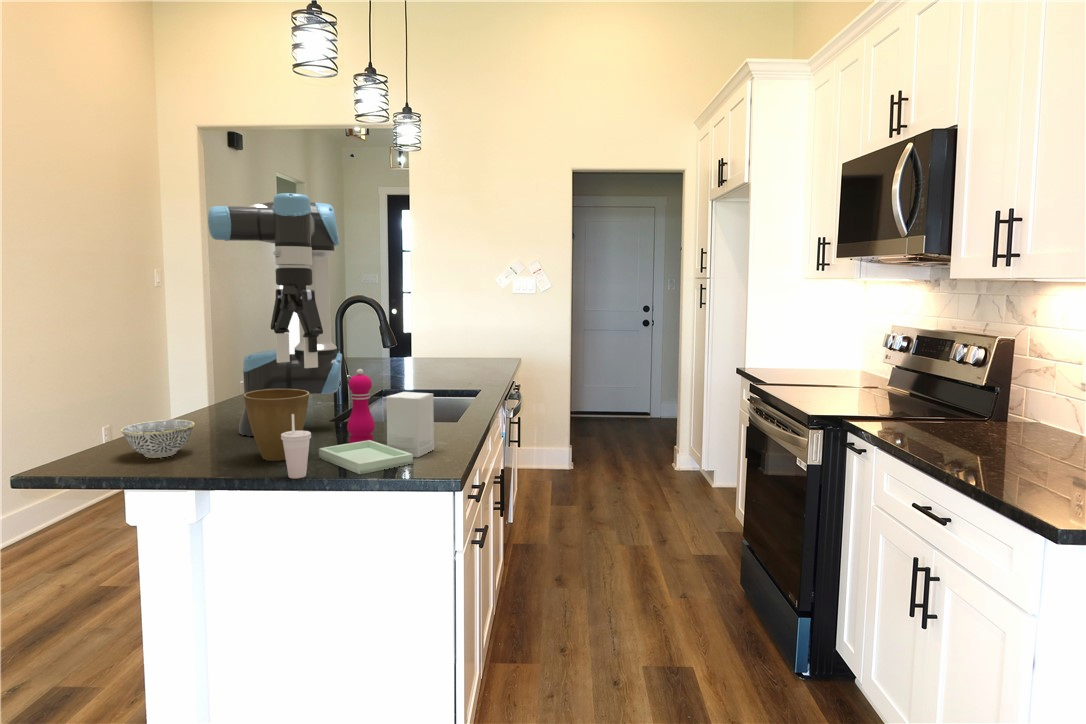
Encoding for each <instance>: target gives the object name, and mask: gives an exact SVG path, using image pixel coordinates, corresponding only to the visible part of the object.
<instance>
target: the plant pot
mask: <svg viewBox="0 0 1086 724" xmlns="http://www.w3.org/2000/svg"><path fill="white" fill-rule="evenodd" d="M309 396H310V394H309V392H308V391H305V390H297V389H266V390H257V391H252V392H248V393H246V394H243V399H244V406H245V405H246V410H247V414H248V419H249V422H250V426H251V429H252V433H253V436H254V437H253V439H254V441H255V444H256V447H257V448H258V451H259V453H260V455H261V457H262V459H263V460H264V459H265V460H264V461H269V462H273V461H274V462H277V461H286V458H285V452H284V446H283V440H282V439H281V434H282V433H284V432H289V431H292V414H294V424H295V431H304V427H305V424H306V423H305V422H306V418H307V413H308V412H307V411H308V403H309V399H310V397H309Z"/></svg>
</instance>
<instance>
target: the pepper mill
mask: <svg viewBox="0 0 1086 724" xmlns="http://www.w3.org/2000/svg"><path fill="white" fill-rule="evenodd" d="M372 385H373V384H372V380H371V378H370V377H369V376H368V375H366V374H364V370H363V369H362V368H358V369H357V370H356V374H355V375H353V376H352V377H350V379H349V381H348V388H349V391H351V393H350V399H351V400H352V408H351V413H350V416H349V418H348V420H347V425H346V430H347V432H348V433H349V434H350V436H349V438H348V440H349V441H348V442H349V443H355V442H361V441H367V440H371V441H374V435H373V432H374V431H375V429H376V424H375V423H376V422H375V420H374V417H373V415H372V413H371V410H370V407H369V399H371V395H370V394H371V393H370V390H371V389H372ZM349 443H348V444H349Z"/></svg>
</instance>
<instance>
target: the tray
mask: <svg viewBox="0 0 1086 724" xmlns="http://www.w3.org/2000/svg"><path fill="white" fill-rule="evenodd" d="M318 458H319V459H320V458H321V460H323V461H325V462H328V463H331V464H334V465H336V466H337V467H338V466H339V467H341V468H343V469H345V470H348V471H350V472H353V473H355V474H358V475H365V474H369V473H373V472H379V471H385V470H389V468H390V469H394V467H395V468H399V466H400V467H405V466H409V465H408V464H410V465H414V457H413V454H411V453H408V452H405V451H402V450H399V449H396V448H393V447H389V446H387V444H383V443H380V442H377V441H374V440H373V441H371V440H367V441H361V442H355V443H343V444H337V445H331V446H324V447H320V448H318ZM404 465H405V466H404ZM384 469H385V470H384Z"/></svg>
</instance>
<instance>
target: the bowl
mask: <svg viewBox="0 0 1086 724" xmlns="http://www.w3.org/2000/svg"><path fill="white" fill-rule="evenodd" d="M195 425H196V424H195V421H192V420H187V419H160V420H159V419H158V420H151V421H144V422H138V423H133V424H130V425H126V426H123V428H121V429H120V432H121V433H122V435H123V436H124V438H125V439H126V442H127V443H128V444H129V447H131V448H132V450H134V451H135V452H137V453H139V454H142V455H143V457H144V456H145V457H153V458H155V457H166V456H171V455H174V454H176V455H177V452H178V451H179V450H181V449H182V448H184V446H186V444H187V443H188V441H189V439H190V436H191V433H192V430H193V428H194V426H195ZM174 456H175V455H174ZM145 457H144V458H145ZM171 457H172V456H171Z"/></svg>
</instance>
